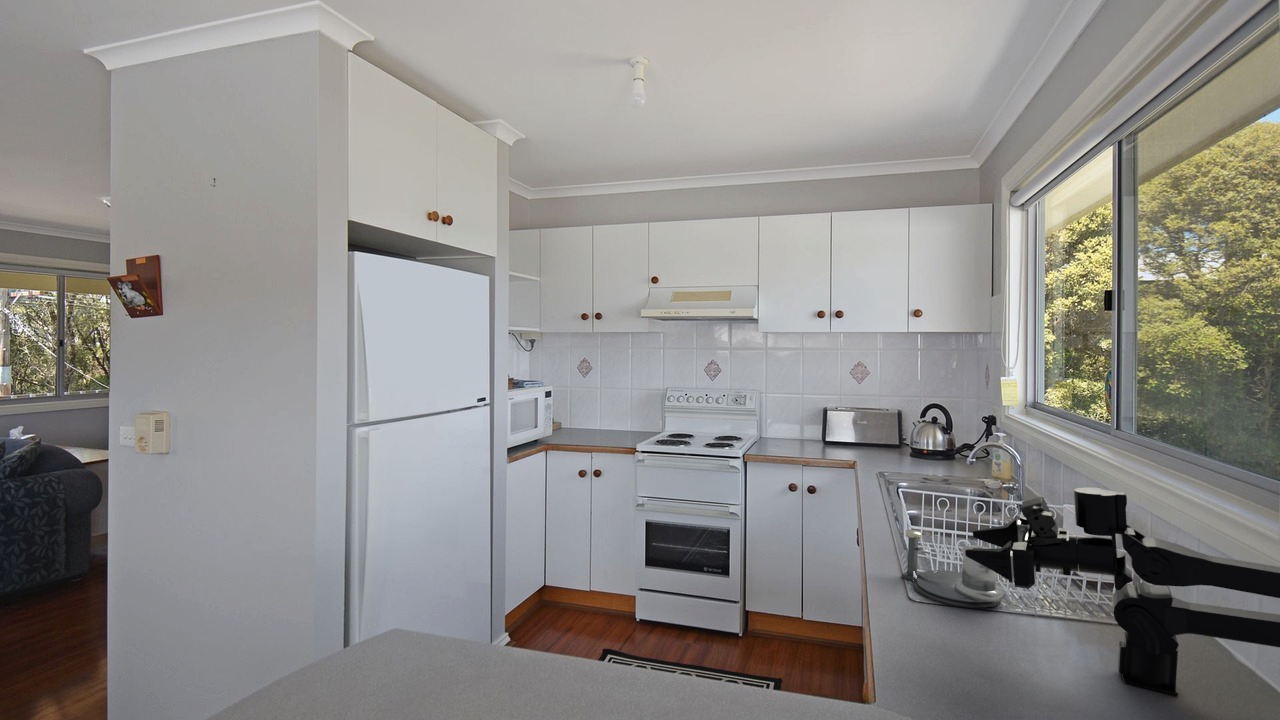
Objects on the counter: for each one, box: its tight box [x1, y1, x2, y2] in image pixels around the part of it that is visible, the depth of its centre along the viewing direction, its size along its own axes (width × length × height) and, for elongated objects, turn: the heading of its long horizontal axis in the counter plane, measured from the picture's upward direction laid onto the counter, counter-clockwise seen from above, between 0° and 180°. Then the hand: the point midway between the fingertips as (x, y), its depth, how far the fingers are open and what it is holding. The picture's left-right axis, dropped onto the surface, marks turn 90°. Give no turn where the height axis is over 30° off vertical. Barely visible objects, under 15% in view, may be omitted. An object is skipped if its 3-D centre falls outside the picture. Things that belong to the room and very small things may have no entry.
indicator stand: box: [901, 529, 932, 581], centre depth 140 cm, size 5×3×10 cm, turn 40°
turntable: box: [913, 569, 1002, 610], centre depth 134 cm, size 16×16×2 cm
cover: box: [954, 544, 1004, 602], centre depth 129 cm, size 8×8×9 cm
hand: (969, 543), depth 114 cm, fingers open, 9 cm apart
